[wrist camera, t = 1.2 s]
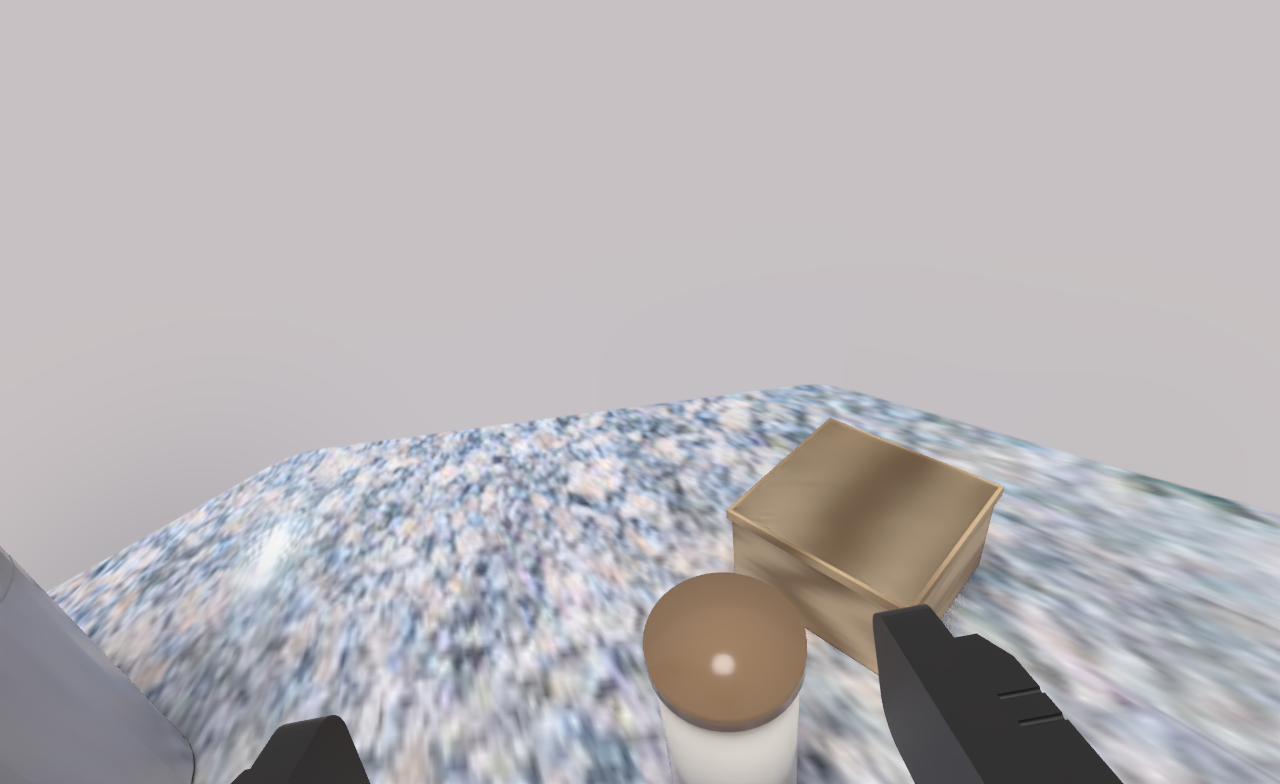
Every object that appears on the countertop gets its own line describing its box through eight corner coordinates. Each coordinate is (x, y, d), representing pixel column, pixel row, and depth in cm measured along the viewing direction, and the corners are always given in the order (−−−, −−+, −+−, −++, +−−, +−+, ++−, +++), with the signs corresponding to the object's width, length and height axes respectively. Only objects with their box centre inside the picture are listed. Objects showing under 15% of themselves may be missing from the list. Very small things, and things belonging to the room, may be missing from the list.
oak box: (730, 582, 38) (726, 510, 35) (825, 488, 44) (829, 418, 41) (897, 690, 32) (911, 614, 29) (984, 563, 37) (1004, 486, 34)
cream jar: (644, 791, 29) (609, 644, 23) (724, 699, 33) (712, 549, 26) (747, 895, 26) (737, 753, 20) (826, 780, 29) (839, 628, 23)
